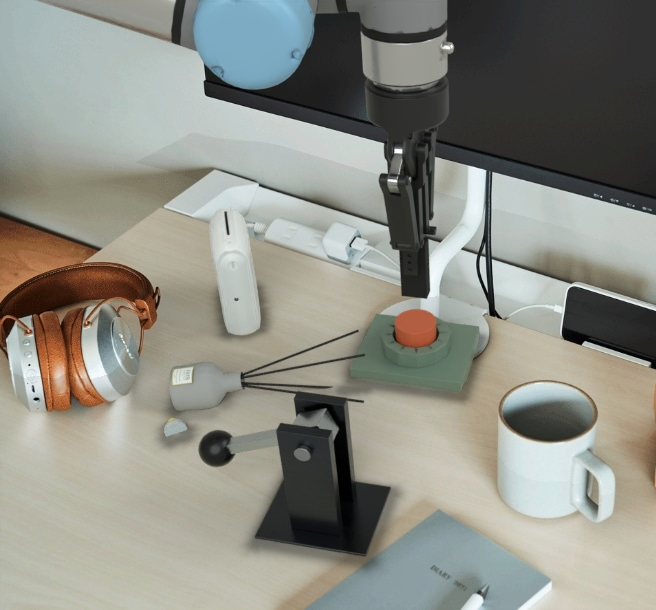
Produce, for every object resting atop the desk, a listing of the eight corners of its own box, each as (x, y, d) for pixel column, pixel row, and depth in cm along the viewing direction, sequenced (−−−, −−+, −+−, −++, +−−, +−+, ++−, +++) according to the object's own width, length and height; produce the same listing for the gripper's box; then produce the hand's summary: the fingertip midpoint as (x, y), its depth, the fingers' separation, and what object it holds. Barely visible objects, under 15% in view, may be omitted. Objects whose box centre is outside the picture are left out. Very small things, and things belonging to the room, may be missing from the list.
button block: (350, 384, 98) (348, 354, 96) (377, 328, 106) (375, 300, 104) (461, 399, 96) (460, 369, 94) (479, 341, 104) (479, 313, 102)
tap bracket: (256, 545, 80) (235, 438, 73) (288, 479, 87) (272, 375, 79) (366, 564, 79) (356, 456, 71) (391, 495, 85) (384, 390, 78)
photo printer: (264, 334, 105) (250, 241, 98) (226, 340, 104) (208, 247, 97) (256, 285, 113) (242, 196, 106) (220, 290, 112) (204, 200, 105)
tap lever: (204, 477, 80) (185, 450, 79) (219, 451, 83) (201, 425, 81) (331, 454, 75) (313, 426, 74) (343, 428, 78) (326, 400, 76)
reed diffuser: (163, 339, 94) (359, 315, 94) (185, 370, 99) (369, 347, 100) (157, 432, 88) (364, 406, 89) (180, 458, 94) (374, 434, 95)
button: (390, 346, 98) (389, 330, 97) (401, 321, 101) (400, 306, 100) (431, 351, 97) (430, 335, 96) (440, 326, 101) (440, 311, 99)
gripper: (430, 108, 76) (436, 334, 90) (462, 53, 87) (464, 263, 101) (343, 101, 78) (363, 325, 91) (385, 48, 88) (397, 256, 102)
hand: (415, 293), depth 96 cm, fingers closed
